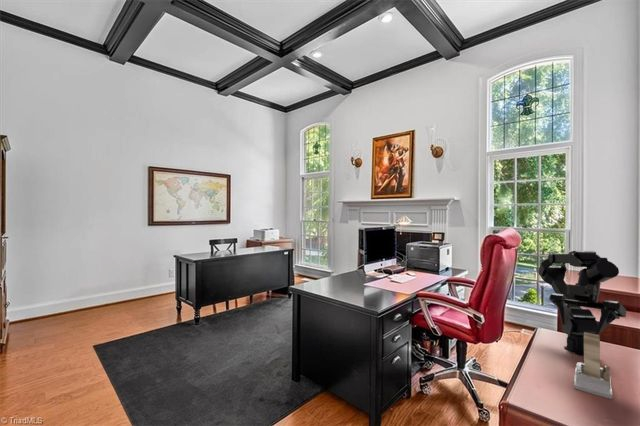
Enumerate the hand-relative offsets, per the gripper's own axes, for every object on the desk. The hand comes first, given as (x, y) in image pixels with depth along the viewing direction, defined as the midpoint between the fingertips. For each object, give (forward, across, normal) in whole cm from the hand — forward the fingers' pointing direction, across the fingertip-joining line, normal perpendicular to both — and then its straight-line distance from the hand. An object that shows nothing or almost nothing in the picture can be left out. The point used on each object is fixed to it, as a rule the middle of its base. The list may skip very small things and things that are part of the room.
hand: (580, 328), depth 98 cm
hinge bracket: (+15, +4, +2) cm, 16 cm away
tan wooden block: (+14, +4, +1) cm, 15 cm away
